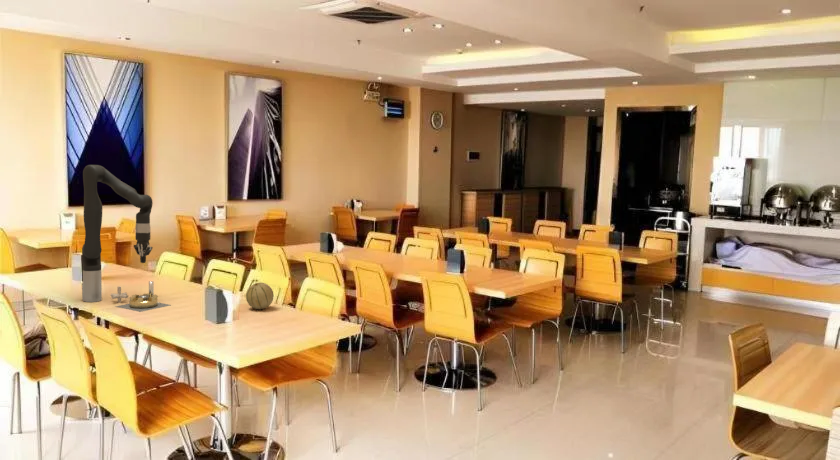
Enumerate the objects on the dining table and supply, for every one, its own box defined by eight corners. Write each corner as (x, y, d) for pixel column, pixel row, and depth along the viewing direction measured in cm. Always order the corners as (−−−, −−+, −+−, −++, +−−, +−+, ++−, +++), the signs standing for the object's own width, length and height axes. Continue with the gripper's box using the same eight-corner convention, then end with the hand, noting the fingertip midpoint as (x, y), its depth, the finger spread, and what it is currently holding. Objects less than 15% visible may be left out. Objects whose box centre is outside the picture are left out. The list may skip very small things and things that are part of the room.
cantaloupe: (278, 307, 364) (278, 281, 363) (265, 313, 350) (265, 285, 349) (254, 304, 368) (254, 278, 367) (240, 310, 354) (240, 283, 353)
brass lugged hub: (133, 302, 355) (133, 280, 354) (160, 302, 357) (160, 280, 356) (126, 308, 341) (125, 285, 340) (154, 308, 343) (154, 285, 342)
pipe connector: (133, 303, 359) (133, 286, 358) (120, 307, 350) (120, 289, 349) (118, 302, 362) (118, 284, 361) (105, 305, 352) (104, 287, 351)
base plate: (114, 309, 345) (114, 305, 345) (146, 302, 363) (146, 299, 363) (140, 314, 336) (140, 311, 336) (171, 307, 353) (171, 304, 353)
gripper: (128, 230, 355) (129, 262, 357) (145, 233, 349) (145, 265, 351) (140, 229, 362) (140, 260, 364) (157, 231, 356) (157, 263, 358)
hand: (143, 262), depth 357 cm, fingers closed
